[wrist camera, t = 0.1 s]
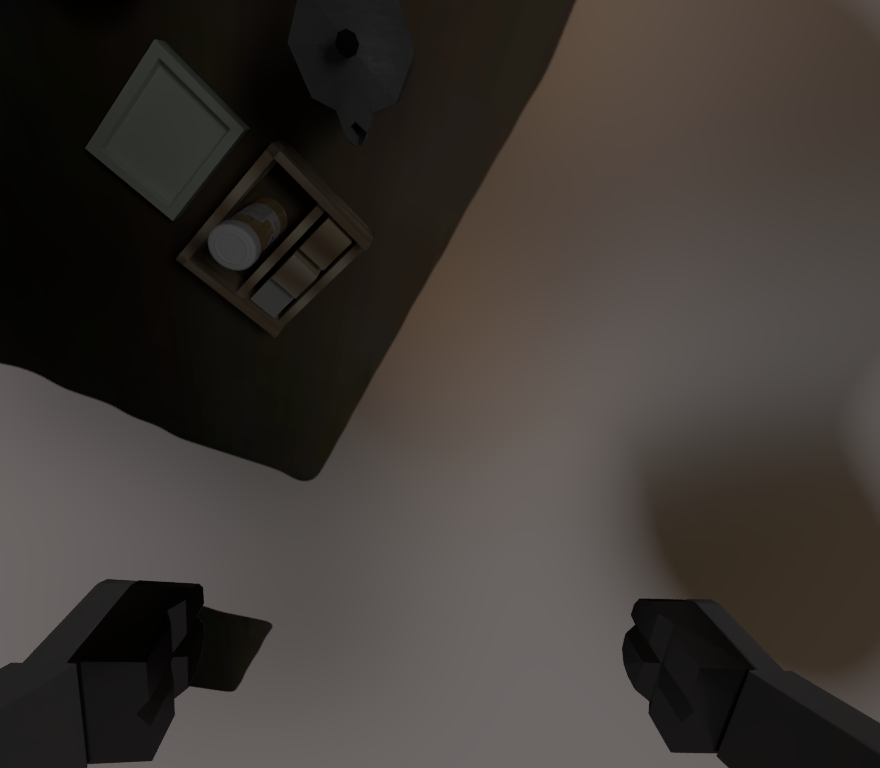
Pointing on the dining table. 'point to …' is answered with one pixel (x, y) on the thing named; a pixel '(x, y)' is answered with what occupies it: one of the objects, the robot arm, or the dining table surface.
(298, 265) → the offcut pine
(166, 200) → the tray
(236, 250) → the sprinkles bottle
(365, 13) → the coffeepot
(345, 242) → the offcut oak
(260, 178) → the rack
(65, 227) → the dining table surface
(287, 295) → the offcut grey
